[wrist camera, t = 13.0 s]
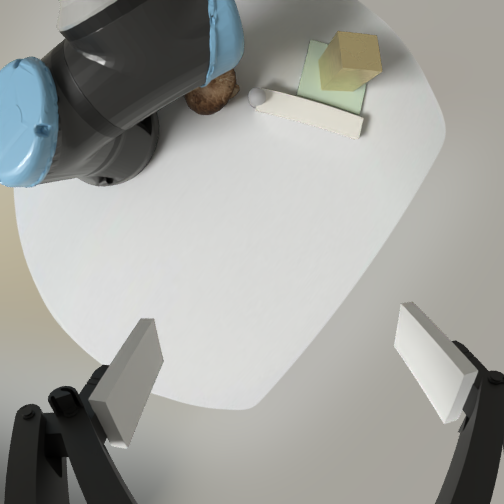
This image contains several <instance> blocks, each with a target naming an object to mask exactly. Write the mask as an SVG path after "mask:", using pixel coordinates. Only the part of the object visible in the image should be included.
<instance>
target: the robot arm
mask: <svg viewBox="0 0 504 504" xmlns="http://www.w3.org/2000/svg"><path fill="white" fill-rule="evenodd" d="M59 1H60V11H59V16H58V22H57V29H58V30H59V31H60V33H61V34H62V35H63V36H64V37H65V38H66V39H64V40H63V41H62V42H61V43H60V44H58V45H57V46H56V47H55V48H54V49H52V50H51V51H50V52H49V53H48V54H47V55H46V56H44V57H43V58H42V59H41V60H40V59H38V58H35V57H27V58H24V59H16V60H14V61H12V62H10V63H9V64H7V65H6V66H5V67H4V68H2V69H1V70H0V183H1V184H2V185H5V186H7V187H26V188H27V187H33V186H36V185H38V184H43V183H49V182H54V181H60V180H66V179H72V178H78V179H80V180H82V181H84V182H86V183H88V184H91V185H95V186H112V185H117V184H121V183H124V182H126V181H128V180H130V179H131V178H133V177H134V176H136V175H137V174H138V173H139V172H140V171H142V169H143V168H144V167H145V166H146V165H147V163H148V162H149V160H150V159H151V157H152V155H153V153H154V151H155V148H156V145H157V141H158V135H159V122H158V117H157V113H156V111H158V110H159V109H161V108H163V107H164V106H166V105H168V104H169V103H171V102H173V101H174V100H176V99H178V98H180V97H181V96H183V95H185V94H187V93H188V92H190V91H192V90H194V89H196V88H198V87H201V88H202V87H205V86H207V85H208V84H209V83H210V81H211V80H213V79H215V78H216V77H218V76H220V75H222V74H224V73H226V72H227V71H229V70H231V69H233V68H234V67H235V66H236V65H237V64H238V63H239V61H240V59H241V58H242V56H243V52H244V35H243V28H242V24H241V19H240V16H239V12H238V9H237V6H236V3H235V0H59ZM394 347H395V348H396V350H397V351H398V353H399V354H400V356H401V357H402V359H403V360H404V362H405V363H406V364H407V366H408V368H409V369H410V371H411V372H412V374H413V375H414V377H415V378H416V380H417V381H418V383H419V384H420V386H421V388H422V389H423V391H424V392H425V394H426V396H427V397H428V399H429V400H430V402H431V403H432V405H433V407H434V408H435V410H436V411H437V413H438V415H439V416H440V418H441V419H442V421H443V423H444V424H446V423H449V422H452V421H455V420H458V418H459V416H460V414H461V412H462V410H463V411H464V412H465V414H466V417H465V419H464V421H463V423H462V425H461V427H460V429H459V431H458V432H460V436H459V439H458V443H457V446H456V450H455V452H454V455H453V458H452V461H451V465H450V467H449V470H448V473H447V475H446V478H445V481H444V484H443V486H442V488H441V491H440V493H439V496H438V498H437V500H436V503H435V504H490V502H491V498H492V494H493V490H494V486H495V482H496V478H497V473H498V468H499V462H500V457H501V452H502V445H503V449H504V374H502V373H501V372H498V371H488V370H487V369H486V368H485V367H484V366H483V365H482V364H481V362H480V361H479V360H478V359H477V358H476V357H474V355H473V354H472V353H471V352H469V350H468V349H467V348H466V347H465V346H464V345H463V344H461V343H459V342H457V341H451V340H450V339H449V338H448V337H447V336H446V335H445V334H444V333H443V332H442V331H441V330H440V329H439V328H438V327H437V326H436V325H435V324H434V323H433V322H432V321H431V320H430V319H429V318H428V317H427V316H426V314H425V313H423V311H421V309H420V308H418V306H416V305H415V304H414V303H413V302H407V303H401V306H400V313H399V319H398V326H397V332H396V338H395V343H394ZM163 362H164V360H163V356H162V352H161V348H160V344H159V339H158V335H157V330H156V326H155V321H154V319H140V320H139V322H138V323H137V325H136V326H135V328H134V329H133V331H132V332H131V334H130V335H129V337H128V338H127V340H126V341H125V343H124V344H123V346H122V347H121V349H120V350H119V352H118V353H117V355H116V356H115V358H114V359H113V361H112V363H111V364H110V365H102V366H101V367H99V368H98V369H97V370H95V371H94V373H93V374H92V376H91V379H89V381H88V382H87V384H86V385H85V386H84V388H83V389H82V391H81V392H80V394H78V392H77V391H76V389H75V388H73V387H70V386H63V387H59V388H57V389H55V390H53V391H52V392H51V393H50V395H49V396H48V402H49V404H50V406H51V407H52V409H53V411H54V413H43V412H42V411H41V409H40V407H39V406H37V405H35V404H28V405H25V406H23V407H21V408H20V409H19V410H18V411H17V413H16V416H15V422H14V427H13V432H12V438H11V444H10V450H9V458H8V467H7V475H6V487H5V502H4V504H70V503H69V493H68V481H67V465H66V464H67V461H66V457H69V459H70V462H71V465H72V467H73V470H74V473H75V475H76V478H77V480H78V483H79V485H80V488H81V490H82V492H83V495H84V497H85V500H86V501H87V504H137V502H136V501H135V499H134V497H133V496H132V494H131V492H130V491H129V489H128V487H127V486H126V484H125V482H124V480H123V479H122V477H121V475H120V473H119V472H118V470H117V468H116V466H115V464H114V462H113V460H112V459H111V457H110V455H109V453H108V451H107V449H106V447H105V445H104V443H105V441H106V438H108V440H109V442H110V444H111V445H112V446H115V447H120V448H126V449H128V447H129V444H130V442H131V439H132V437H133V434H134V432H135V429H136V427H137V424H138V422H139V419H140V417H141V414H142V412H143V409H144V407H145V404H146V402H147V399H148V397H149V395H150V392H151V390H152V388H153V385H154V383H155V380H156V378H157V376H158V373H159V371H160V369H161V366H162V364H163Z"/></svg>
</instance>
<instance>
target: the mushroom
mask: <svg viewBox="0 0 504 504" xmlns="http://www.w3.org/2000/svg"><path fill="white" fill-rule="evenodd" d="M239 89H240V87H239V85H237V84H236V75H235V71H234V69H231V70H229V71H227V72H226V73H224V74H222V75H220V76H218V77H216V78H215V79H213V80H211V81H210V83H209V84H208V85H207V86H205V87H202V88H201V87H198V88H196V89H194V90H192V91H190V92H188V93H187V94H185V99H186V102H187V104H188V106H189V108H190V109H192V110H193V111H195V112H196V113H198V114H200V115H211V114H214V113H216V112H218V111H220V110H221V109H222V108H223V107H224V106H225V105H226V104H227V102H228V100H229V99H231V98H233V97H234V96H235V95H236V94H237V93H238V92H239Z"/></svg>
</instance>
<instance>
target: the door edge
mask: <svg viewBox="0 0 504 504" xmlns="http://www.w3.org/2000/svg"><path fill="white" fill-rule="evenodd" d="M248 98H249V104H250V105H251V106H252V107H254V108H256V111H258V112H262V113H266V114H270V115H274V116H278V117H282V118H285V119H289V120H293V121H296V122H300V123H303V124H307V125H310V126H314V127H317V128H320V129H324V130H327V131H330V132H333V133H336V134H339V135H342V136H345V137H348V138H351V139H354V140H355V139H359V136H360V132H361V127H362V123H363V119H364V118H362V117H359V116H356V115H354V114H351V113H348V112H345V111H342V110H339V109H336V108H333V107H330V106H327V105H324V104H320V103H317V102H314V101H310V100H307V99H304V98H300V97H296V96H293V95H289V94H285V93H282V92H278V91H274V90H270V89H265V88H253V89H251V90H250V92H249V94H248Z"/></svg>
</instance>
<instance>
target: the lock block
mask: <svg viewBox="0 0 504 504" xmlns="http://www.w3.org/2000/svg"><path fill="white" fill-rule="evenodd" d="M318 63H319V72H320V82H321V90H326V91H350V92H353V91H354V90H356V89H357V88H359V87H360V86H362V85H363V84H365V83H366V82H368V81H369V80H371V79H372V78H374V77H375V76H377V75H378V74H380V73H381V72H382V65H381V58H380V51H379V45H378V39H377V36H376V35H369V34H361V33H352V32H341V31H337V33H336V34H335V36H334V37H333V39H332V40H331V42H330V44H329V45H328V47H327V48H326V50H325V51H324V53H323V54H322V56H321V57H320V59H319V61H318Z"/></svg>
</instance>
